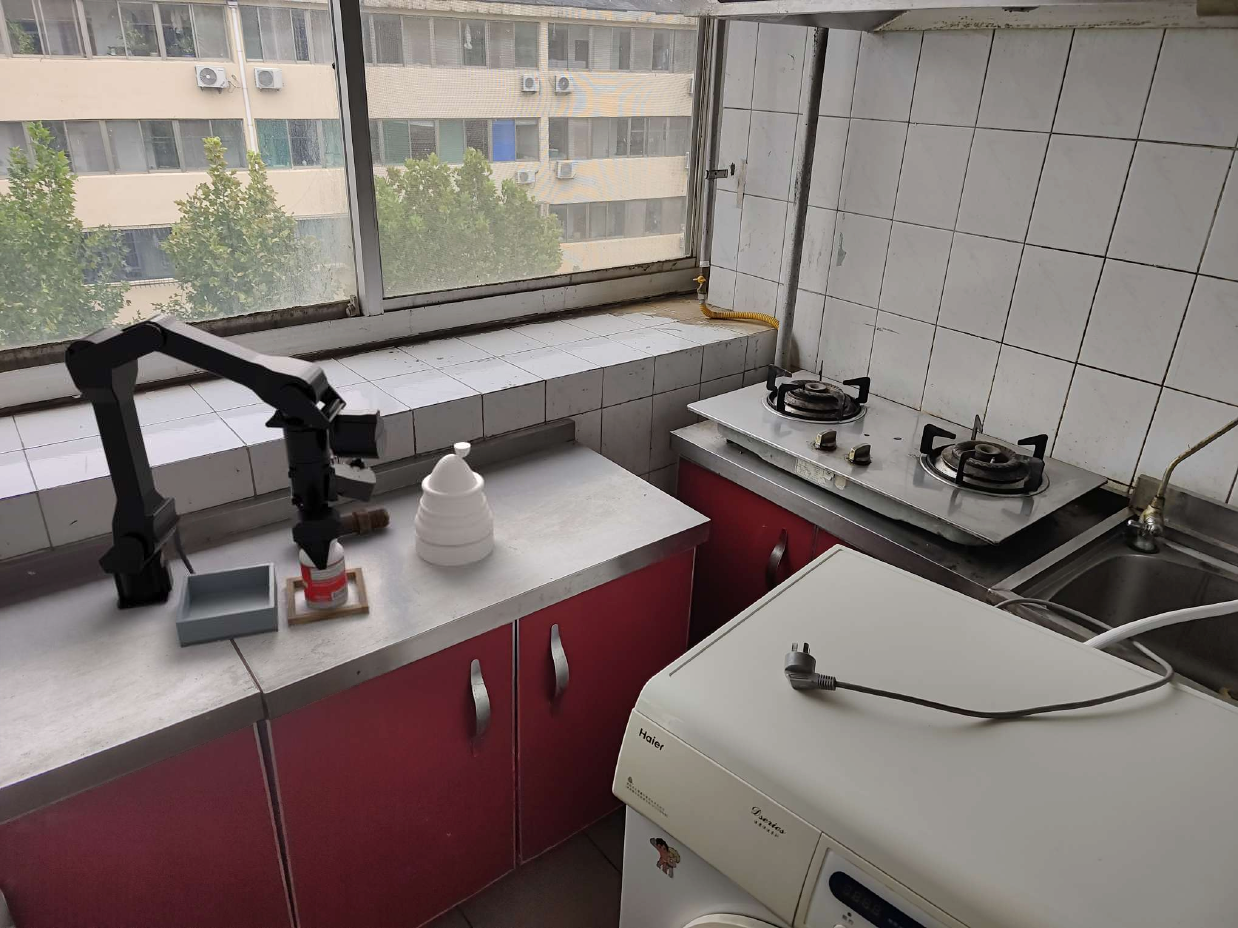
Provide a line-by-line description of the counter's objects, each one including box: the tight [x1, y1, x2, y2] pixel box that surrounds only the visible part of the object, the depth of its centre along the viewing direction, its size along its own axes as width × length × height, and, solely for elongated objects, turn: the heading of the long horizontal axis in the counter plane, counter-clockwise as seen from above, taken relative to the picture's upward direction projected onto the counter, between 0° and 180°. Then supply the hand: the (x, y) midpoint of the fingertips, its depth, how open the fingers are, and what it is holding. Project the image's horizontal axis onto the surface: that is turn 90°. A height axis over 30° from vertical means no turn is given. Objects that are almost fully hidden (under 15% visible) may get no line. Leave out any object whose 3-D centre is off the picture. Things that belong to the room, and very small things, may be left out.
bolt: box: [296, 506, 391, 551], centre depth 139 cm, size 6×5×15 cm
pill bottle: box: [298, 538, 349, 610], centre depth 121 cm, size 6×6×11 cm
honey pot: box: [413, 441, 495, 567], centre depth 135 cm, size 13×13×18 cm
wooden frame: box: [285, 566, 370, 627], centre depth 123 cm, size 11×11×1 cm
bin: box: [175, 562, 279, 648], centre depth 118 cm, size 12×12×4 cm
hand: (320, 553), depth 120 cm, fingers open, 9 cm apart
